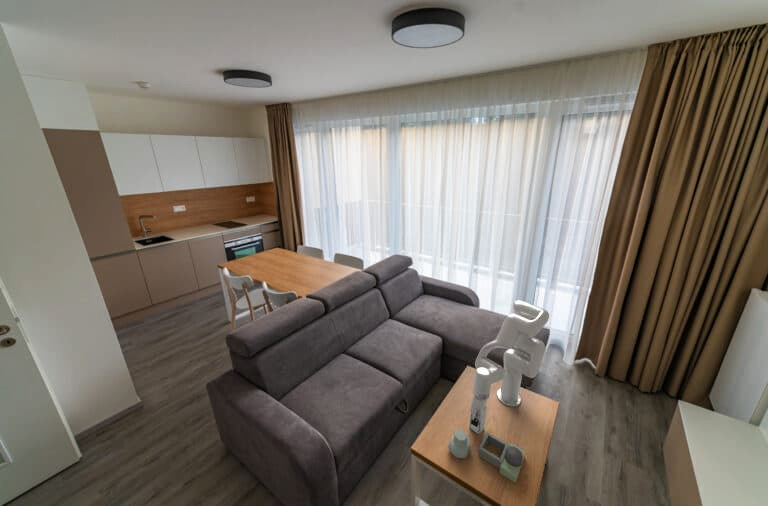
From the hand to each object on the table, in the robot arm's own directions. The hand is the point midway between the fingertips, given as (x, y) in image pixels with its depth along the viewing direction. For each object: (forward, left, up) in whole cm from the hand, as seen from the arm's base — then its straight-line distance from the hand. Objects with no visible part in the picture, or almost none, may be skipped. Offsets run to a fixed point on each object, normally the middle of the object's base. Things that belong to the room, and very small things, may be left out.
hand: (477, 418), depth 145 cm
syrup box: (0, 0, -7) cm, 7 cm away
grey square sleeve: (+8, +14, -7) cm, 18 cm away
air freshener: (+16, -2, -7) cm, 18 cm away
